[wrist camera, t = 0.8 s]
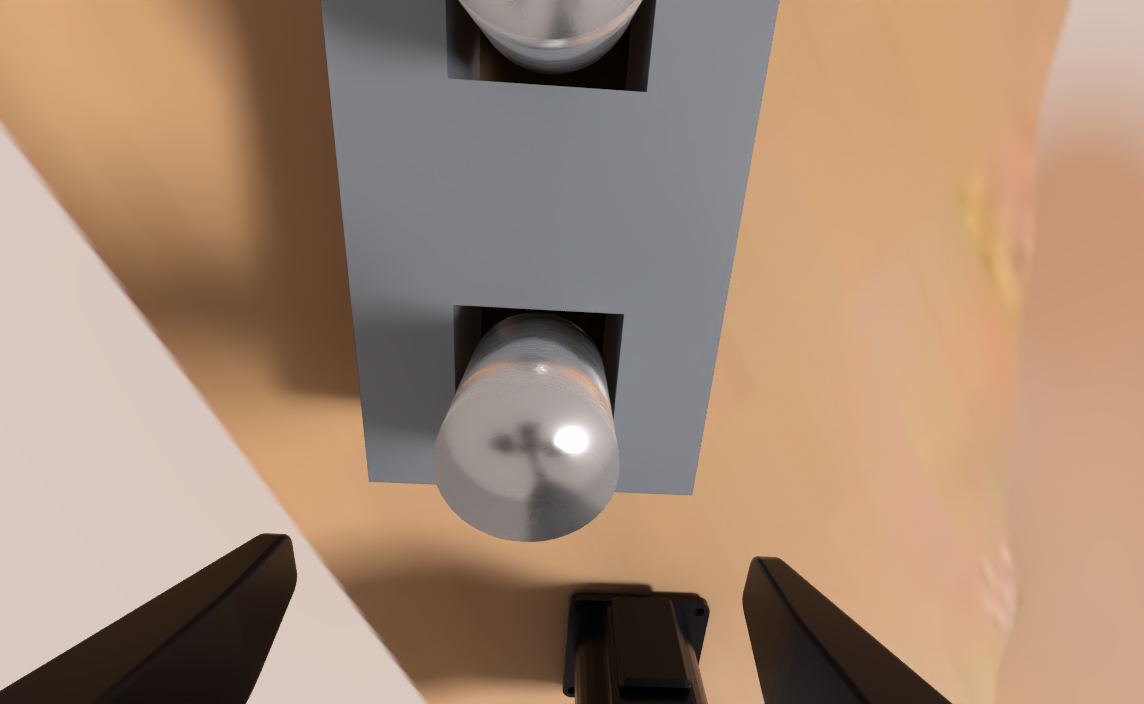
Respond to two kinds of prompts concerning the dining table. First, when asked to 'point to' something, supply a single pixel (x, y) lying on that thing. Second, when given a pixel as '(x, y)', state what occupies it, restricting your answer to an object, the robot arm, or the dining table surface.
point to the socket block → (542, 214)
